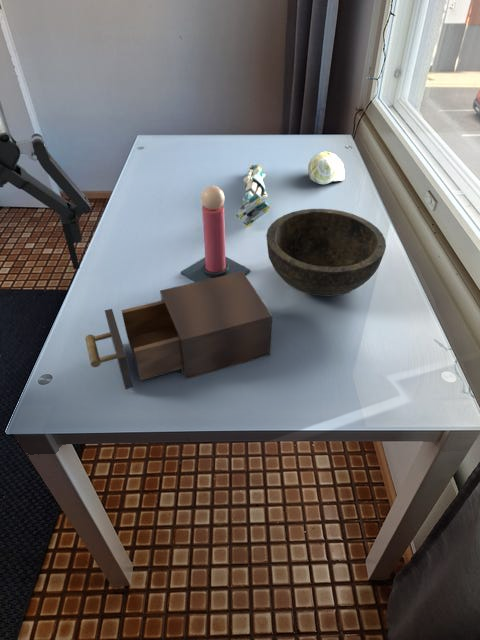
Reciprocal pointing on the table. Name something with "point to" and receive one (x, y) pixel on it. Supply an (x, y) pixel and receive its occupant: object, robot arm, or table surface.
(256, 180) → the figurine
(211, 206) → the ball-topped pink peg
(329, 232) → the bowl
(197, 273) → the mat
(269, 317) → the cabinet
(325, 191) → the table surface
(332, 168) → the seashell
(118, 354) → the drawer
